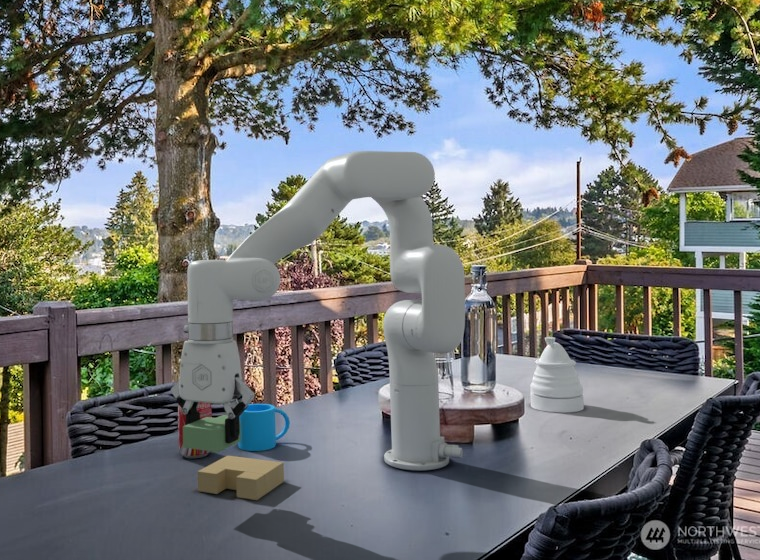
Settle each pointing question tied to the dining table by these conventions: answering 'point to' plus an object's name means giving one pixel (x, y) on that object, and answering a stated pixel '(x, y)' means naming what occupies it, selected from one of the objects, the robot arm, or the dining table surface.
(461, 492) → the dining table surface
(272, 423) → the mug
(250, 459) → the tan flat block
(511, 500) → the dining table surface
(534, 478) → the dining table surface
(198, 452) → the soda can
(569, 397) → the honey pot
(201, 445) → the green pad
